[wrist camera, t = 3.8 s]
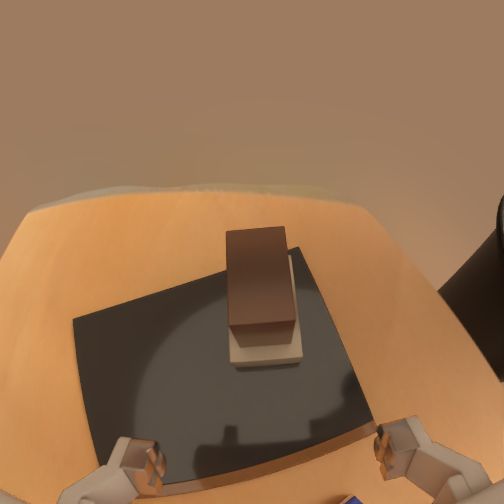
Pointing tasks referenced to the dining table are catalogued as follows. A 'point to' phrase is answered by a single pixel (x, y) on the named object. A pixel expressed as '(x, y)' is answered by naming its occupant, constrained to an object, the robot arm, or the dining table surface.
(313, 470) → the dining table surface
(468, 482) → the robot arm
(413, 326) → the dining table surface
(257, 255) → the brown block with base
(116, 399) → the slate
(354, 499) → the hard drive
